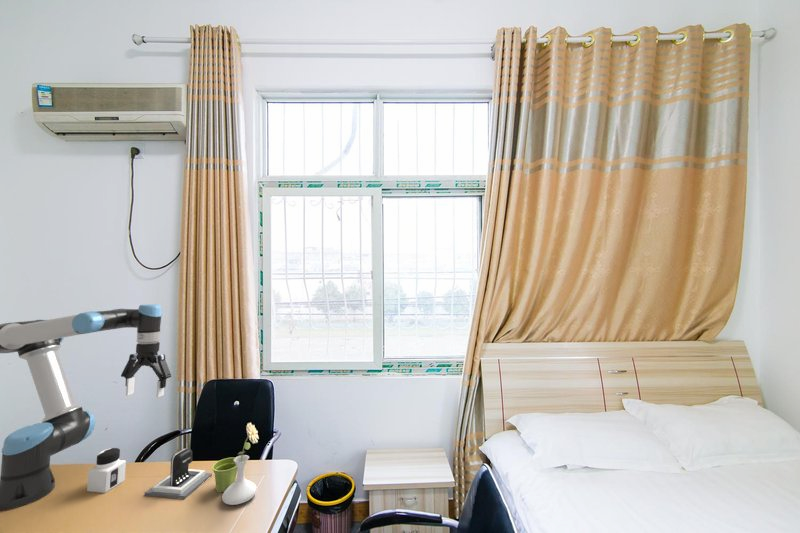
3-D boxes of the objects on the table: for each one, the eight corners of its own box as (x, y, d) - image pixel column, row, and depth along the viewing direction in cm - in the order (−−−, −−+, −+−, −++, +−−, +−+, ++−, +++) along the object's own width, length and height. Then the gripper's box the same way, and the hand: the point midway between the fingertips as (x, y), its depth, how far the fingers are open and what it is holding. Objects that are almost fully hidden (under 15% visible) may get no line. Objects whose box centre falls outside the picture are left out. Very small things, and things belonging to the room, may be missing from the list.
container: (125, 480, 124) (127, 446, 125) (105, 493, 117) (107, 456, 118) (107, 479, 125) (109, 445, 126) (86, 491, 117) (88, 455, 118)
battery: (177, 488, 118) (179, 456, 119) (168, 487, 119) (170, 455, 120) (192, 477, 125) (194, 447, 126) (184, 476, 126) (186, 446, 127)
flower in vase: (242, 511, 109) (245, 435, 110) (214, 506, 111) (217, 432, 112) (266, 487, 121) (268, 420, 123) (239, 483, 124) (242, 417, 125)
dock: (144, 495, 116) (144, 488, 116) (175, 472, 130) (175, 466, 130) (184, 499, 114) (185, 491, 114) (211, 476, 128) (212, 469, 128)
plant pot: (204, 492, 118) (206, 468, 118) (225, 478, 127) (226, 455, 127) (224, 497, 115) (226, 473, 116) (244, 482, 124) (245, 459, 125)
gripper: (111, 342, 128) (108, 396, 127) (168, 345, 125) (165, 400, 124) (129, 339, 135) (126, 390, 134) (183, 341, 133) (180, 393, 131)
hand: (144, 395), depth 129 cm, fingers open, 13 cm apart
